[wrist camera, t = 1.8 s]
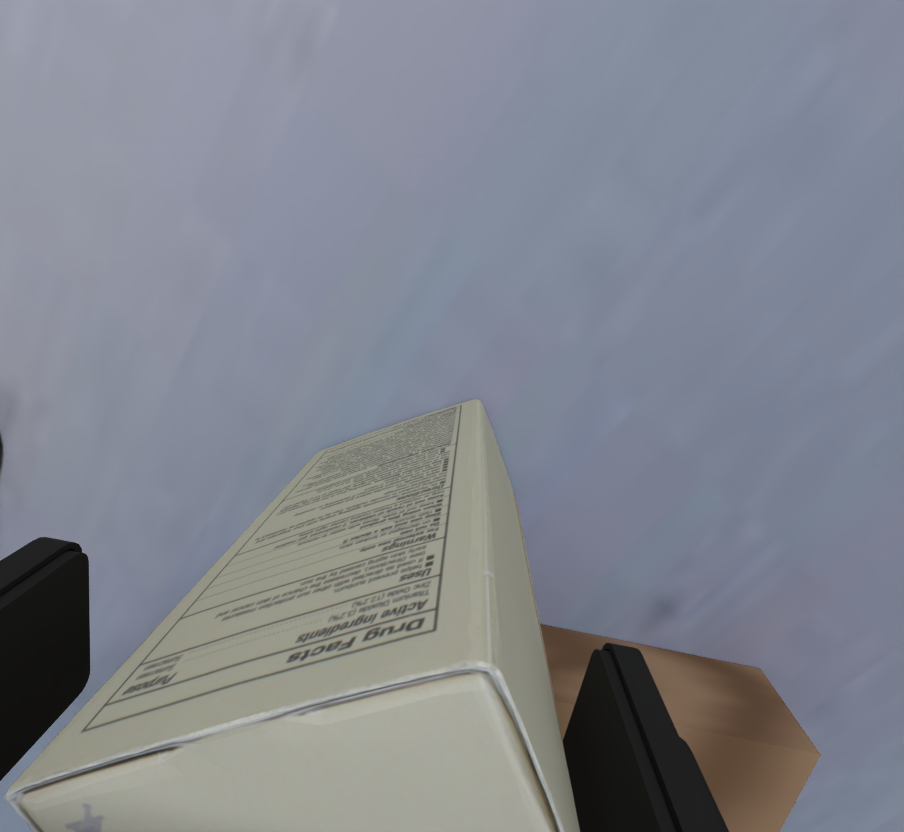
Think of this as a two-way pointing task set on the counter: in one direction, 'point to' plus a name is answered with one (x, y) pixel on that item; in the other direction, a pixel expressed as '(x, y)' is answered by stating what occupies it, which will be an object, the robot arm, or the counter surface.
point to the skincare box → (336, 666)
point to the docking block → (709, 724)
